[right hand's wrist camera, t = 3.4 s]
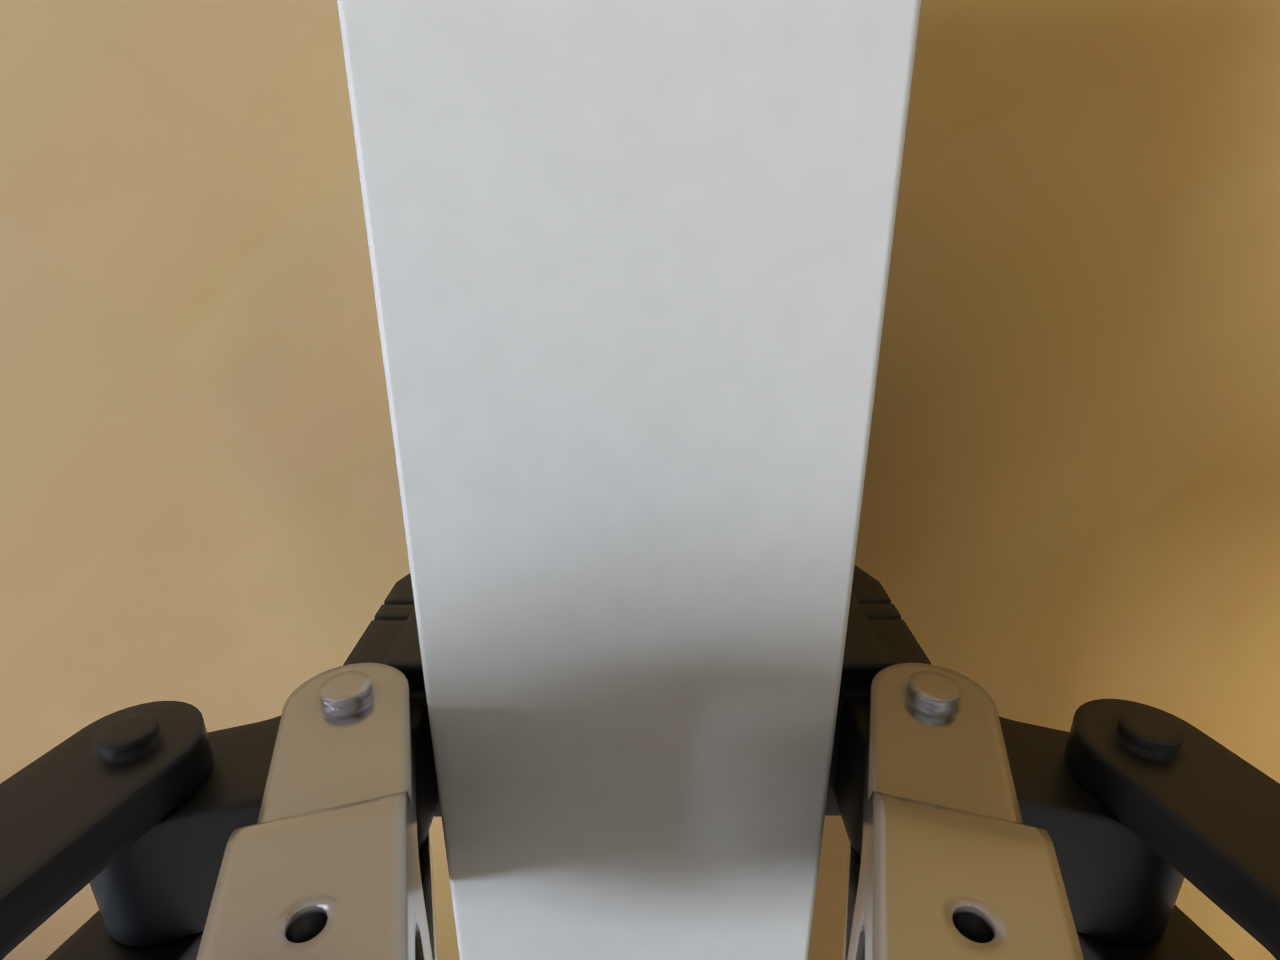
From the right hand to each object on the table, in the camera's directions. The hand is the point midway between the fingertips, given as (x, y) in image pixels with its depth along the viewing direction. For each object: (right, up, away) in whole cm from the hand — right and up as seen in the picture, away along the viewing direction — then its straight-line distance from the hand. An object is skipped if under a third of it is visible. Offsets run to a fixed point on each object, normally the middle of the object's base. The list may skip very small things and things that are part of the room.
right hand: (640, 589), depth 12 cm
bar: (0, -19, +9) cm, 21 cm away
